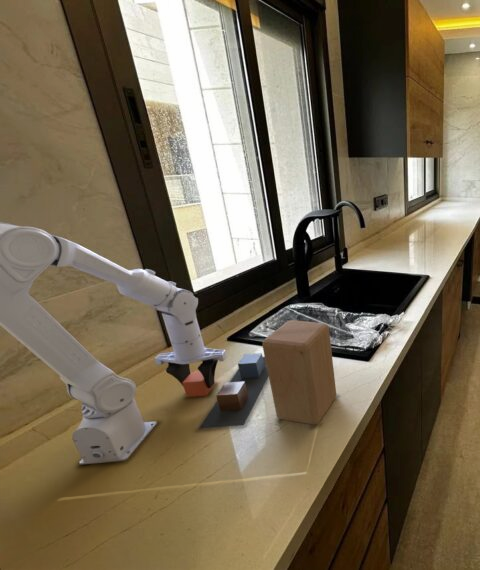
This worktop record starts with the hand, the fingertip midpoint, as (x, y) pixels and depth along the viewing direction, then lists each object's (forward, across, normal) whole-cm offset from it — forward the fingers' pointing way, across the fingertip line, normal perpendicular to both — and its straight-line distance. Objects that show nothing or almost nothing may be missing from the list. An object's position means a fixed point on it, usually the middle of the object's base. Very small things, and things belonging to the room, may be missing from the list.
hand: (200, 386), depth 79 cm
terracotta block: (+1, 0, 0) cm, 1 cm away
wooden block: (+2, -27, +9) cm, 29 cm away
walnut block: (+1, -10, +6) cm, 12 cm away
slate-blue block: (+1, -10, -6) cm, 12 cm away
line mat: (+1, -10, 0) cm, 10 cm away
